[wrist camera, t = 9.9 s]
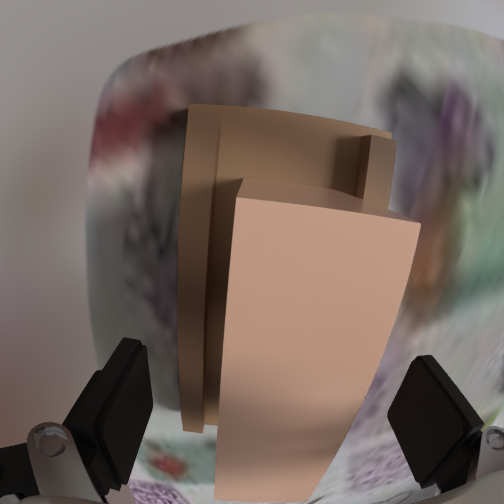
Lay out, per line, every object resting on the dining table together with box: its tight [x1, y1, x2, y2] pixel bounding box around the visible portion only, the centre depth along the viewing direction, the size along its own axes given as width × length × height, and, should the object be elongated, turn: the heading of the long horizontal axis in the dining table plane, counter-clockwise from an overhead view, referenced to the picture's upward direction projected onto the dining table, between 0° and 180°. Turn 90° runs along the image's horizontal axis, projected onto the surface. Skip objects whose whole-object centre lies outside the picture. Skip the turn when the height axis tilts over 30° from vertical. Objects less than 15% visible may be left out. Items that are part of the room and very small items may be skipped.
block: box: [214, 178, 421, 502], centre depth 11 cm, size 4×12×7 cm, turn 174°
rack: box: [177, 104, 397, 433], centre depth 14 cm, size 18×9×2 cm, turn 174°
